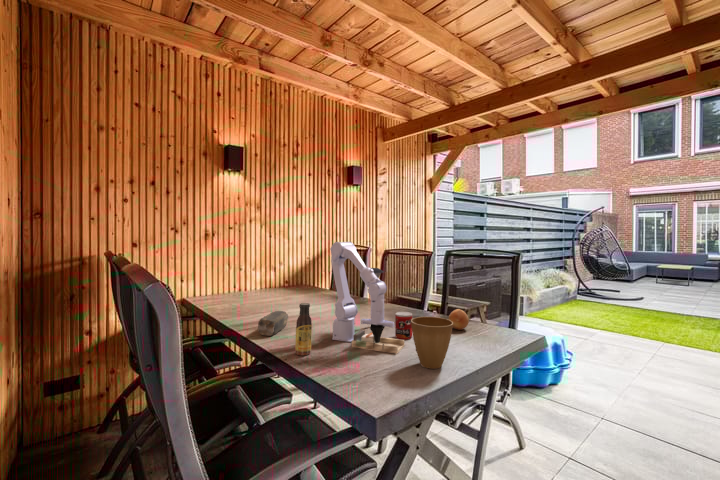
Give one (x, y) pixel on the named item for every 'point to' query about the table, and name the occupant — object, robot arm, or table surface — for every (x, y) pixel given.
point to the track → (383, 345)
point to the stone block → (272, 323)
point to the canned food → (403, 325)
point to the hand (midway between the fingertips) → (377, 342)
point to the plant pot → (431, 340)
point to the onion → (459, 319)
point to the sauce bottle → (303, 331)
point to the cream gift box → (368, 338)
